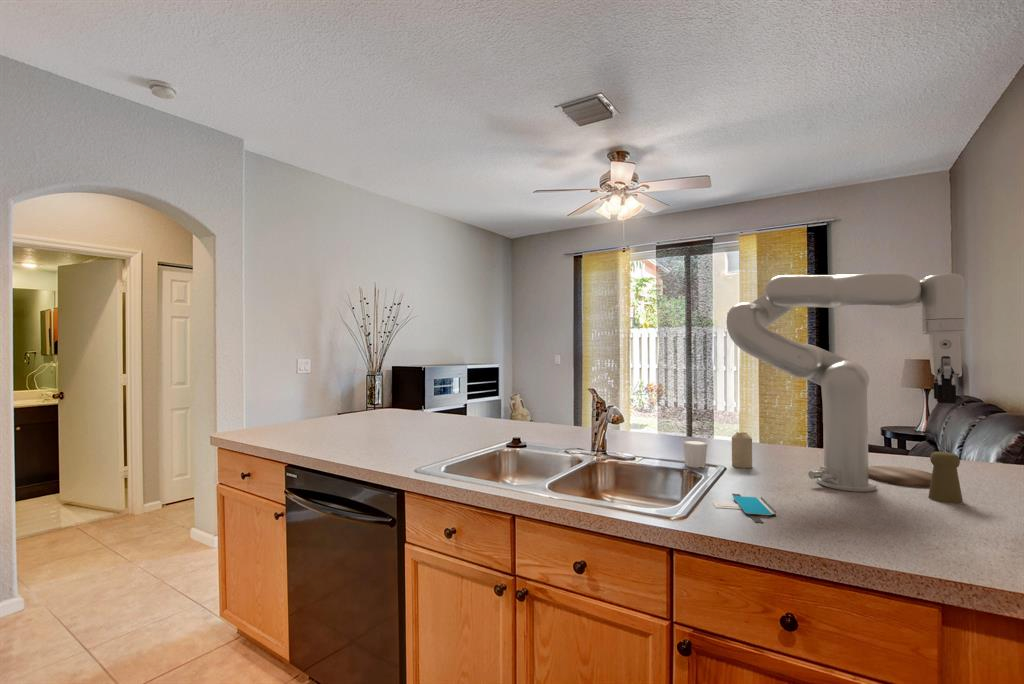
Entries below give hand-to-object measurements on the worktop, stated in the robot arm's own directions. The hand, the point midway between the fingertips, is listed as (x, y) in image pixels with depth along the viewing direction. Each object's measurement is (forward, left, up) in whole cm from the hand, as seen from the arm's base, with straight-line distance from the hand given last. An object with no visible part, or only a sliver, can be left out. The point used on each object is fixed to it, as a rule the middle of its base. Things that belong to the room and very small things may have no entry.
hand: (944, 401), depth 114 cm
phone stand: (-49, +6, -24) cm, 55 cm away
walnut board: (+8, +17, -23) cm, 30 cm away
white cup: (-37, +43, -23) cm, 61 cm away
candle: (-24, +39, -23) cm, 51 cm away
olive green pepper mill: (0, 0, -23) cm, 23 cm away
